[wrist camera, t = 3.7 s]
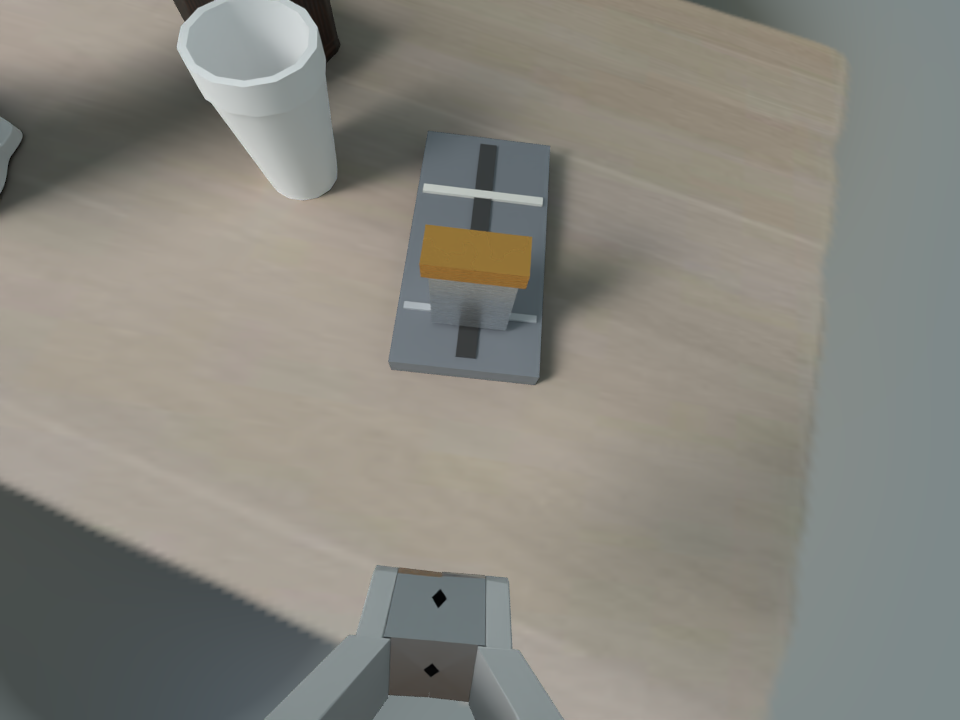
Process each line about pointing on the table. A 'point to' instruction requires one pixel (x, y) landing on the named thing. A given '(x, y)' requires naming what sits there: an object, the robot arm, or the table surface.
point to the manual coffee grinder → (314, 3)
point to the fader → (474, 275)
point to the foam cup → (267, 87)
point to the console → (484, 207)
